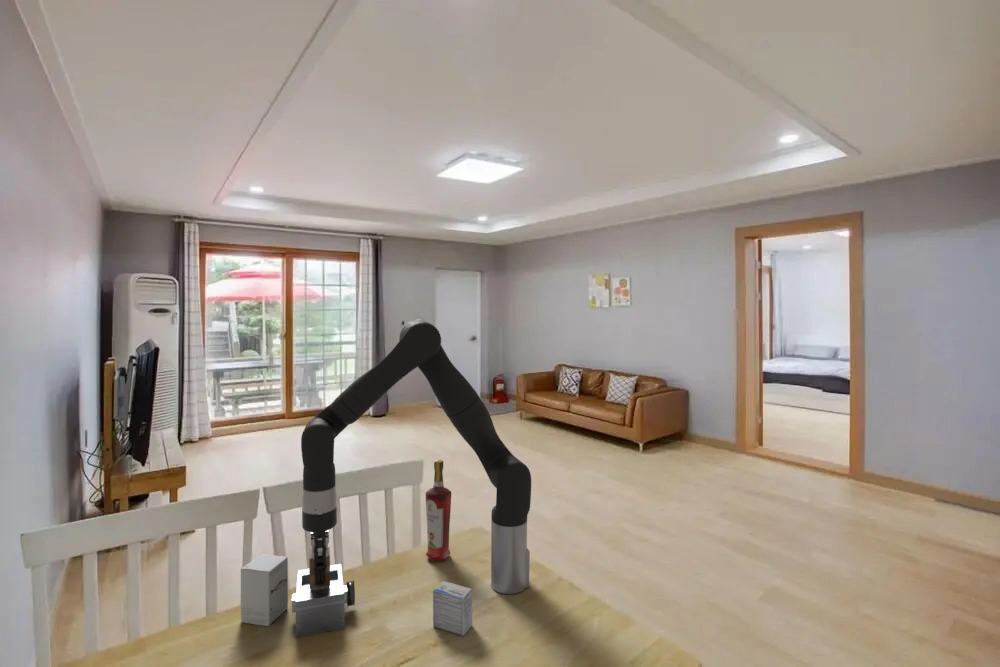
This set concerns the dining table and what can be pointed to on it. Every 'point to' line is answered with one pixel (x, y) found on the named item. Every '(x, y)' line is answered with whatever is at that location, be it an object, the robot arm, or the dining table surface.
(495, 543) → the robot arm
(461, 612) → the medicine box
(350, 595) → the shaft
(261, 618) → the supplement box
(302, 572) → the grey hollow block
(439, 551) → the liquor
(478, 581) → the dining table surface
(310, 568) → the block
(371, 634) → the dining table surface
